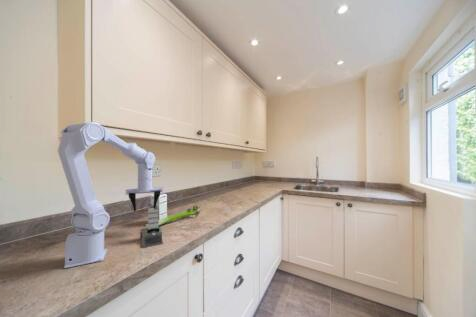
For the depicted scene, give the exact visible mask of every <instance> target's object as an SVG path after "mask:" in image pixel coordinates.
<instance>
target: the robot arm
mask: <svg viewBox="0 0 476 317" xmlns="http://www.w3.org/2000/svg"><path fill="white" fill-rule="evenodd" d="M60 133H61V139H60V143H59V146H58V148H57V153H58V156H59V160H60V163H61V165H62V168H63V172H64V174H65V178H66V181H67V184H68V187H69V191H70V193H71V197H72V200H73V203H74V207H72V209H71V210H70V213H71V219H70V223H71V226H72V227H73V228H74V229H75V232H74V233H69V234H68V235H67V237H66V239H65V246H64V266H63V269H68V268H73V267H78V266H83V265H87V264H92V263H98V262H102V261H104V259H105V257H106V255H107V252H108V248H105V230H106V228H107V227H108V225H109V224H110V220H111V218H110V217H111V216H110V214H109V213H108V212H107V211H106V209H105V207H104V205H103V204H102V203H100V201H98V199H97V197H96V193H95V190H94V186H93V183H92V178H91V175H90V171H89V168H88V164H87V161H86V157H85V153H86V152H87V151H88V150H89V149H90V147H91V148H92V146H94V145H96V144H97V143H100V142H101V143H104V144H106V145H109V146H111V147H114V148H115V149H118V150H119V151H121V153H122V155H123V156H126V157H127V158H129V159H131V160H133V161H134V163H135V164H137V188H129V189H125V196H126V195H127V196H128V198H129V200H130V202H131V204H132V208H133V211H134V212H137V204H136V202H137V201H136V198H137V197H136V195H137V194H150V193H153V195H154V208H156V203H157V200H158V198H159V196H160V194H161V193H164V192H163V191H164V188H163V186H162V187H153V168H154V164H155V162H156V155H155V154H154V153H153V152H152V151H146V149H145V148H141V147H139V145H137V143H136V142H126V141H124V140H123V139H122V138H120V137H118V136H117V135H115V134H113V133H112V132H111V131H109V130H108V129H107V127H105V126H103V125H101V124H99V123H98V122H95V121H89V122H82V123H71V124H68V125H66V126H65V128H63V129H62V130H61V132H60Z"/></svg>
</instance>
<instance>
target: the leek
mask: <svg viewBox="0 0 476 317" xmlns="http://www.w3.org/2000/svg"><path fill="white" fill-rule="evenodd" d="M200 208H201V207H200V206H195V205H193V206H192V208H191V207H189V208H187V210H186V211H185V212H184V211H183V212H181V213H178V214H174V215H171V216H167V218H164V219H161V220H158V221H159V223H158V226H159V227H160V226H161V225H165V224H166V223H169V222H172V221H174V220H177V219H180V218H181V219H182V218H185V217H189V216H195V217H198V216H199V215H200V212H201V210H199V209H200ZM198 210H199V211H198ZM143 227H144V228H146V229H148V223H145V224H144V226H143Z"/></svg>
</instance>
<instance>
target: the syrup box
mask: <svg viewBox="0 0 476 317" xmlns="http://www.w3.org/2000/svg"><path fill="white" fill-rule="evenodd" d="M157 207H158V211H159V213H158V216H159V218H158V220H161V219H164V218H167V217H168V195H167V194H166V193H160V196H159V198H158V200H157V203H156V208H157ZM150 208H154V194H151V195H150Z"/></svg>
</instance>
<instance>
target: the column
mask: <svg viewBox="0 0 476 317" xmlns="http://www.w3.org/2000/svg"><path fill="white" fill-rule="evenodd" d="M158 213H159V211H158V207H157V208H151V207H150V208H148V209H147V214H148V215H147V217H148V218H147V224H148V230H149V229H155V228H159V227H160V225H159V226H158V223H159V221H158V218H159V216H158Z"/></svg>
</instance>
